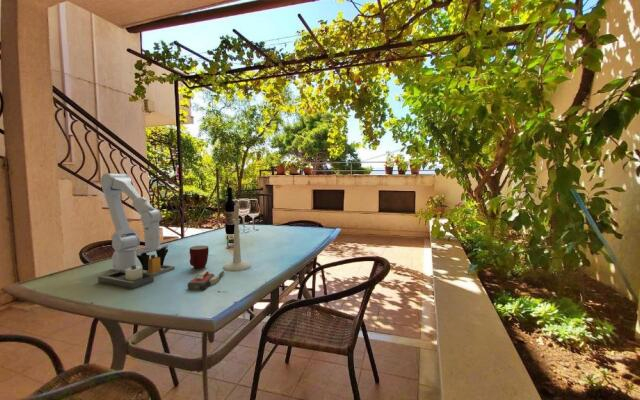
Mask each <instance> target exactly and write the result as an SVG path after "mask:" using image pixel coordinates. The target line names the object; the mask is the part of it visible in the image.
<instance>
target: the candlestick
mask: <svg viewBox="0 0 640 400" xmlns="http://www.w3.org/2000/svg"><path fill="white" fill-rule="evenodd" d="M239 207H240V206H239V204H234V205H233V210H234V211H233V214H234V218H232V221H233V224H234V229H233V230H234V231H233V255H232V256H233V259H232V261H228V262H226V263H225V264H224V265H223V266H222V269H223V271H227V272H241V271H240V270H242V271H246V270H249V269H251V267H252V264H251V263H250V262H249V261H247V260H242V256H241V243H240V242H241V240H240V227H239V224H240V221H241V218H240V217H239V215H240V212H239ZM248 268H249V269H248ZM245 269H246V270H245Z"/></svg>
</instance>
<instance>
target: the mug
mask: <svg viewBox="0 0 640 400" xmlns="http://www.w3.org/2000/svg"><path fill="white" fill-rule="evenodd" d="M209 250H210V249H209V246H208V245H194V246H191V247H189V256H190V258H189V264H190V266H192V268H194V269H195V270H201V269H205V268H206V266H207V264H208V258H209Z"/></svg>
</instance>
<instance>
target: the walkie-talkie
mask: <svg viewBox="0 0 640 400" xmlns="http://www.w3.org/2000/svg"><path fill="white" fill-rule="evenodd" d="M224 273H225V270H222V271H221V272H220V273H219V274H217V275H215V274H214V273H209V271H201V272H200V273H199V274H197V275H196V276H195V277H193V279H191V280H190V281H189V282H187V290H189V291H191V290H193V291H203V290H205V289H207V288H208V287H209V286H211V285H215V284H217V283H218V282H219V281H220V279H221V277H222V275H223V274H224Z"/></svg>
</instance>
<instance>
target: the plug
mask: <svg viewBox="0 0 640 400" xmlns="http://www.w3.org/2000/svg"><path fill="white" fill-rule="evenodd" d="M160 270H161V266H160V257H157V256H156V255H155V254H150V257H149V261H148V270H147V271H146V272H149V273H155V272H157V271H160Z"/></svg>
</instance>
